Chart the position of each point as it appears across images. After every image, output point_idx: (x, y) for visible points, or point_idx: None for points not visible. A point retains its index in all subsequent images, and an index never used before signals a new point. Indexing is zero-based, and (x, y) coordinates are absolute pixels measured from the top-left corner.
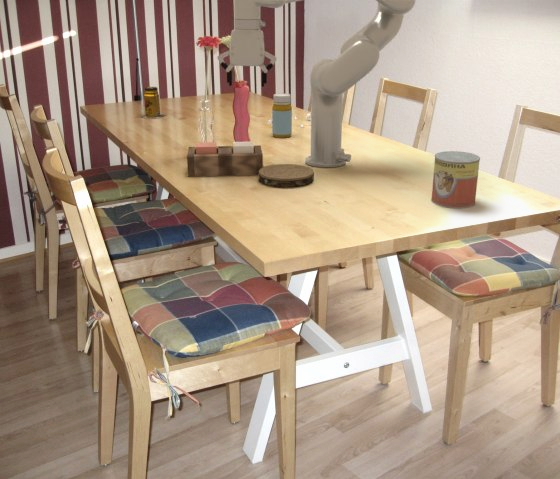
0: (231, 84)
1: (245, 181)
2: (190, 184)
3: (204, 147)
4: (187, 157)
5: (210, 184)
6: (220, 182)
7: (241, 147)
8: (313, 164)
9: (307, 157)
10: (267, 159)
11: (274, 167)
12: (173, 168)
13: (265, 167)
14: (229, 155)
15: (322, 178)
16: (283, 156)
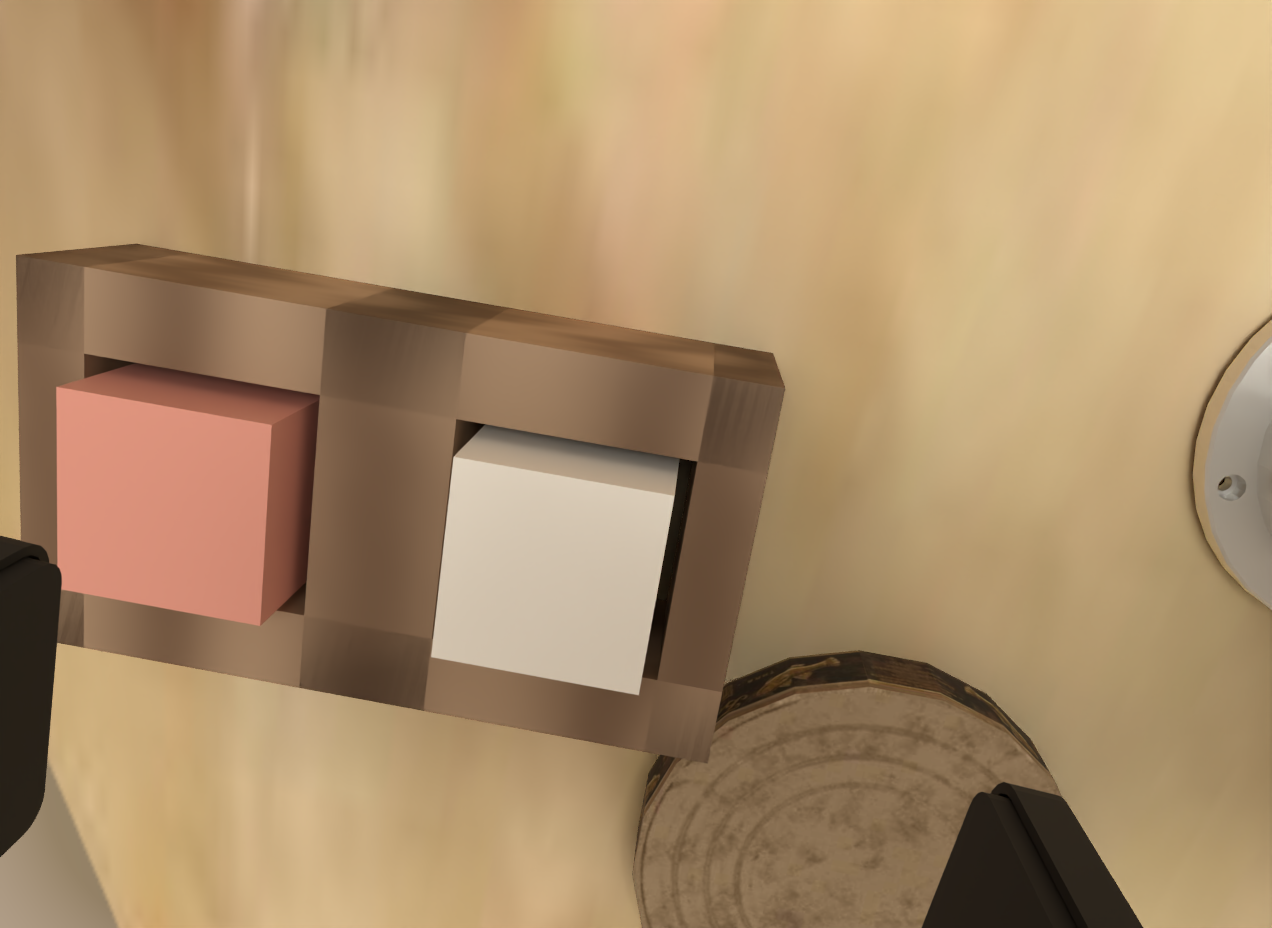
0: (18, 838)
1: (543, 792)
2: (153, 758)
3: (146, 601)
4: None
5: (290, 794)
6: (363, 768)
7: (516, 665)
8: (1222, 563)
9: (1269, 354)
10: (888, 179)
11: (793, 771)
12: (2, 292)
13: (719, 752)
14: (402, 700)
15: (1129, 872)
16: (1090, 92)
